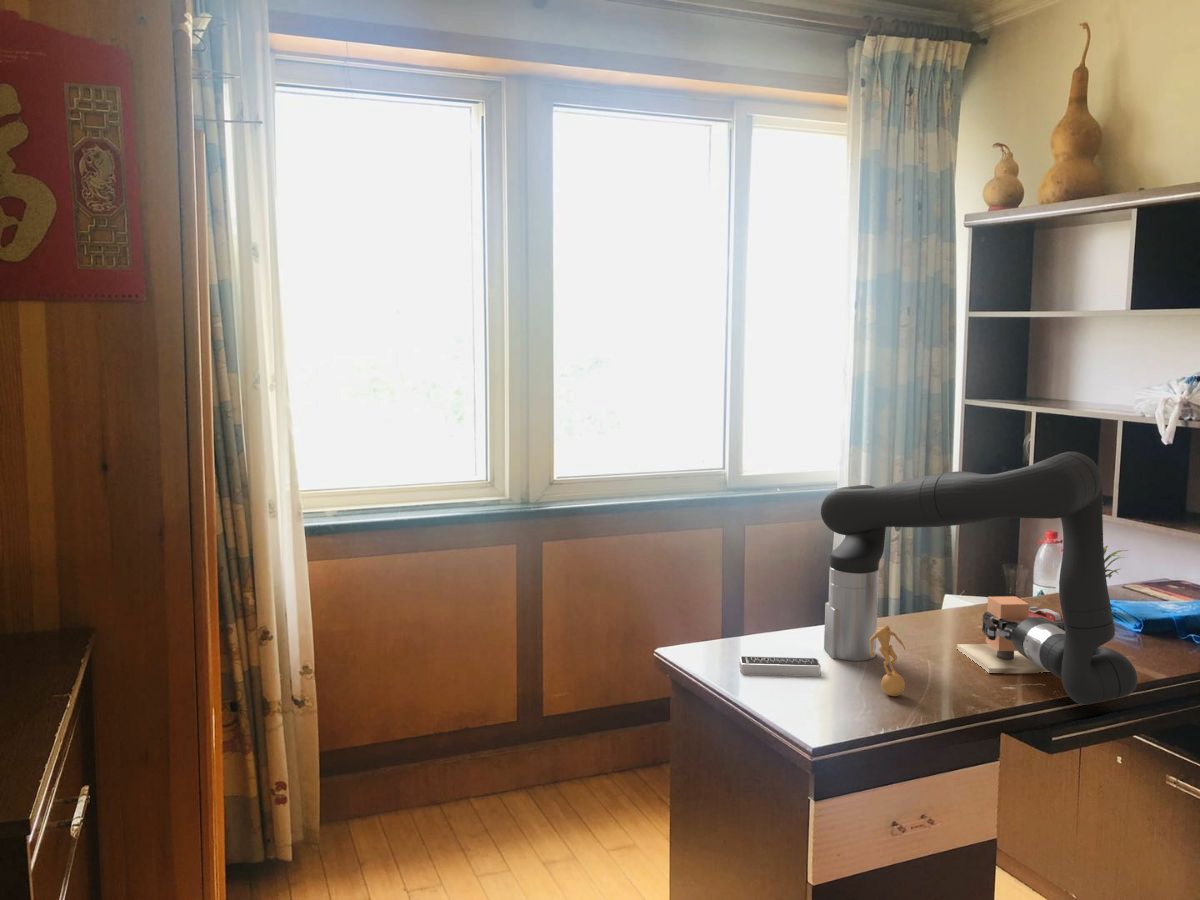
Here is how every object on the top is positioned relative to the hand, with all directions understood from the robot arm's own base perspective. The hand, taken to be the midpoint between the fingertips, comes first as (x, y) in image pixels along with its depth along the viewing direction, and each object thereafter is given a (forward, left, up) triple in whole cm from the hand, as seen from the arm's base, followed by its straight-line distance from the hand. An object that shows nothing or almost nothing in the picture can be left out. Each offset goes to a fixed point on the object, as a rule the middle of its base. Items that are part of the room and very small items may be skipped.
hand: (1000, 617), depth 182 cm
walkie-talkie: (+18, +16, -9) cm, 26 cm away
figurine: (-28, -18, -8) cm, 34 cm away
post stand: (+5, -2, -8) cm, 10 cm away
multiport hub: (-44, -6, -9) cm, 46 cm away
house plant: (+36, +29, -8) cm, 47 cm away
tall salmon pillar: (0, -3, -5) cm, 6 cm away
